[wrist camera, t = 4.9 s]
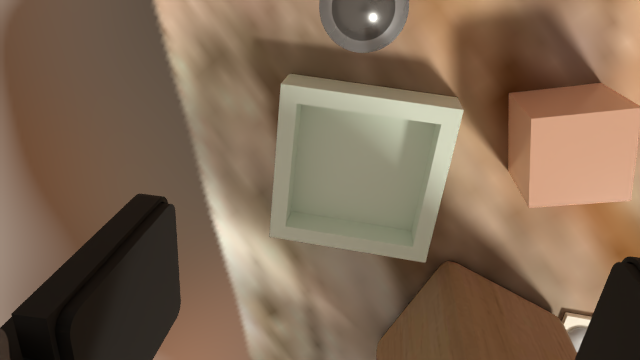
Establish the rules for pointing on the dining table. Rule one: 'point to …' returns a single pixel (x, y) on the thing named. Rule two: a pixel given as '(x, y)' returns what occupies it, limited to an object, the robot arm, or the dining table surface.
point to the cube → (572, 145)
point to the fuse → (363, 22)
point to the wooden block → (473, 323)
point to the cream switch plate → (576, 327)
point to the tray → (361, 165)
